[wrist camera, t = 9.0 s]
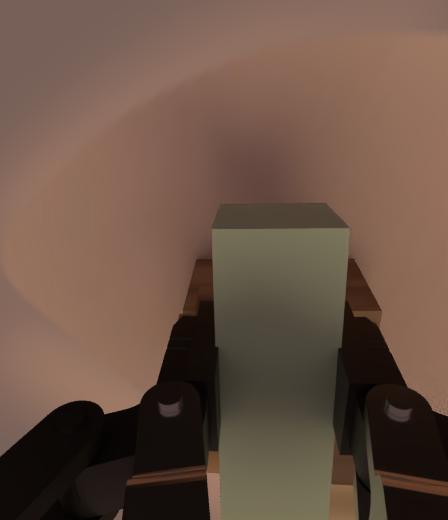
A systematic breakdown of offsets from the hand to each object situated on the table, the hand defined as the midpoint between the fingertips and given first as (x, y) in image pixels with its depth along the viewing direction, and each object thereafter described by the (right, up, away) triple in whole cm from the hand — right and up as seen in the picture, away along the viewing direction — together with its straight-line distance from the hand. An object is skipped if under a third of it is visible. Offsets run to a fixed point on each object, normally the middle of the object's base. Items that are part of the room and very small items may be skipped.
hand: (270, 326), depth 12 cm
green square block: (0, -6, +1) cm, 6 cm away
